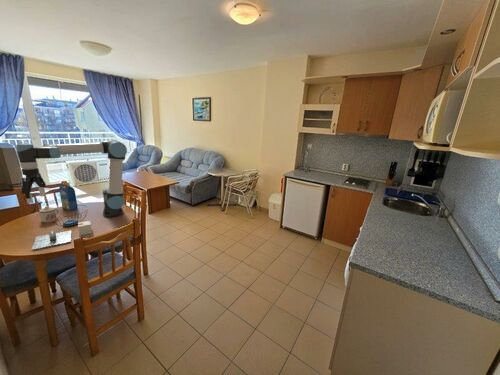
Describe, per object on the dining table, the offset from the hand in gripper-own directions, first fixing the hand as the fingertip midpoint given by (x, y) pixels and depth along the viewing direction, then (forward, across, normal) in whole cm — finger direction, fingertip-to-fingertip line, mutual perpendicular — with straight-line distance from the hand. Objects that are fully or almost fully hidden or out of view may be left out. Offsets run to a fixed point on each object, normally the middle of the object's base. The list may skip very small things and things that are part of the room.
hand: (37, 199), depth 139 cm
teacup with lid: (+26, -24, -7) cm, 36 cm away
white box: (+26, +3, +25) cm, 36 cm away
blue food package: (+26, -48, -4) cm, 54 cm away
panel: (+25, +12, +10) cm, 30 cm away
